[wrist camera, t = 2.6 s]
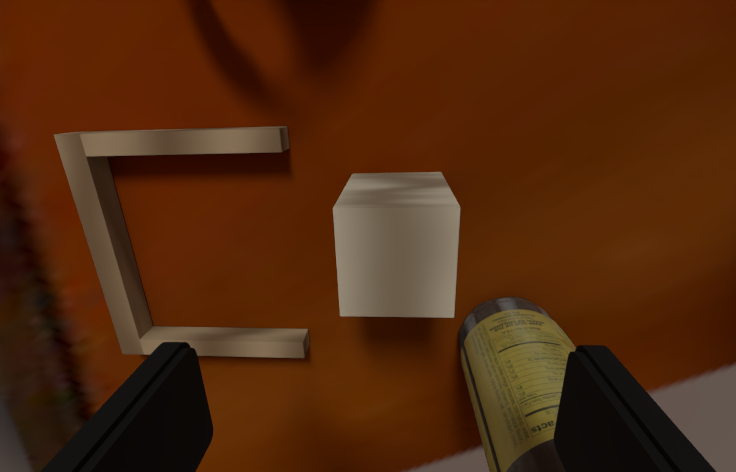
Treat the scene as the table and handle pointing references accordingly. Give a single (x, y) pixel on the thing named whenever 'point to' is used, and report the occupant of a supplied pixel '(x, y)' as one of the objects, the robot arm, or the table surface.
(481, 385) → the sauce bottle
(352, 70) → the table surface
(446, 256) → the birch block
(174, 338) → the oak bay
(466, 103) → the table surface
